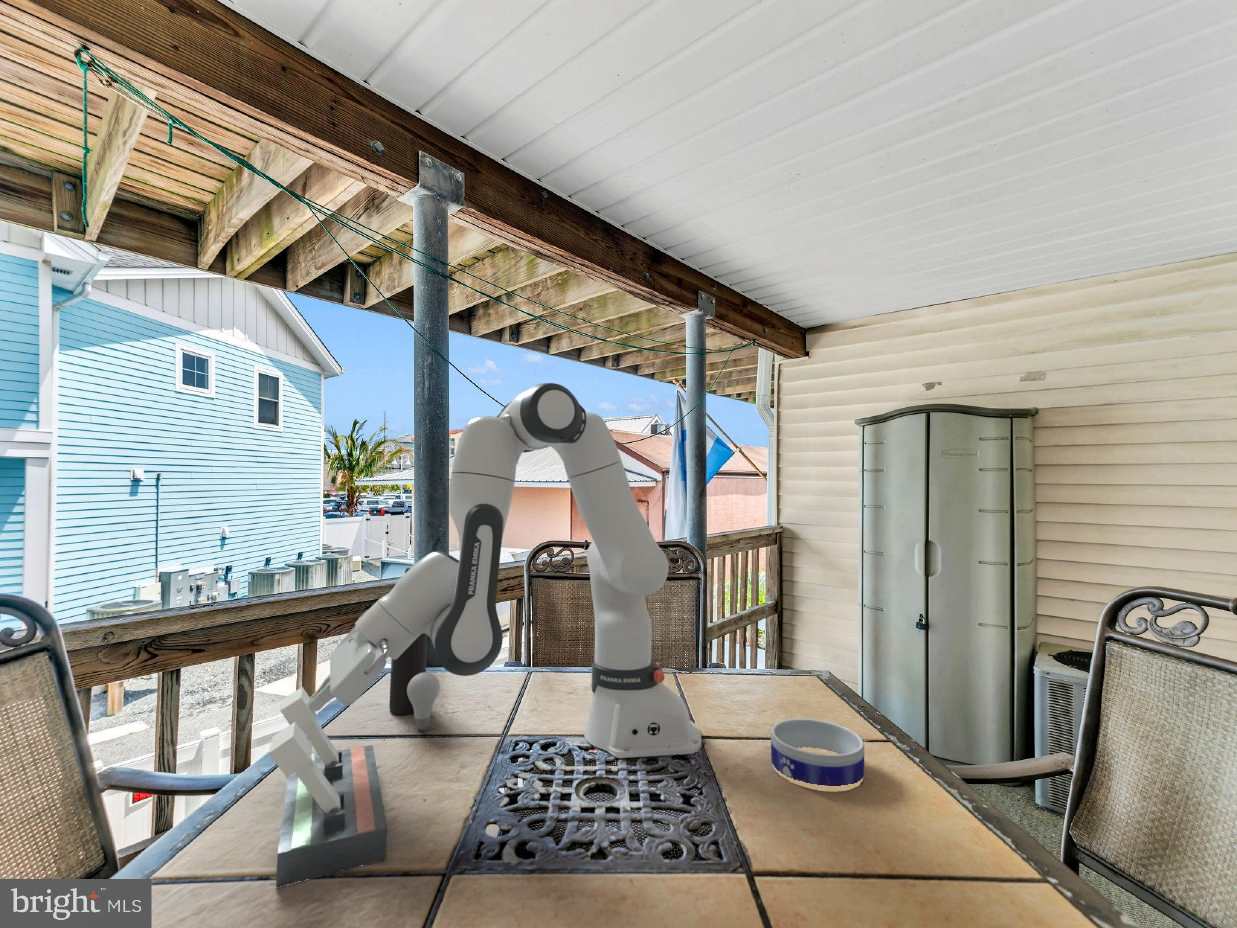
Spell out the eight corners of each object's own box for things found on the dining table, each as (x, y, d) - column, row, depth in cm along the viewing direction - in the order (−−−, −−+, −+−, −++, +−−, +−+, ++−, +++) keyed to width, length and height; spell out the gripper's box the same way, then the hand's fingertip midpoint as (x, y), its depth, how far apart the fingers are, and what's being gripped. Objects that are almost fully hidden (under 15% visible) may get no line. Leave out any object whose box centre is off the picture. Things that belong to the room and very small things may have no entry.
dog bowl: (754, 770, 98) (754, 734, 98) (794, 742, 109) (794, 710, 109) (843, 805, 87) (843, 765, 87) (877, 770, 98) (877, 735, 99)
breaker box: (371, 769, 95) (373, 736, 95) (386, 860, 72) (387, 816, 72) (289, 784, 90) (290, 749, 90) (275, 888, 66) (278, 841, 67)
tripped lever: (344, 751, 90) (302, 686, 88) (345, 765, 86) (301, 697, 83) (326, 764, 89) (282, 699, 87) (326, 778, 84) (280, 710, 82)
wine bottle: (415, 700, 126) (420, 565, 127) (430, 709, 121) (435, 568, 122) (383, 708, 121) (389, 567, 122) (397, 718, 116) (403, 571, 117)
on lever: (347, 793, 78) (295, 721, 75) (348, 812, 73) (293, 736, 71) (326, 809, 76) (272, 737, 74) (326, 829, 72) (268, 753, 69)
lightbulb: (443, 724, 113) (445, 668, 114) (430, 737, 107) (432, 678, 108) (414, 722, 114) (416, 667, 115) (399, 735, 108) (401, 677, 109)
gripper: (406, 663, 83) (329, 744, 78) (392, 631, 101) (329, 696, 96) (373, 635, 81) (292, 717, 76) (365, 608, 99) (299, 673, 94)
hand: (313, 705), depth 86 cm, fingers closed, pressing on tripped lever
